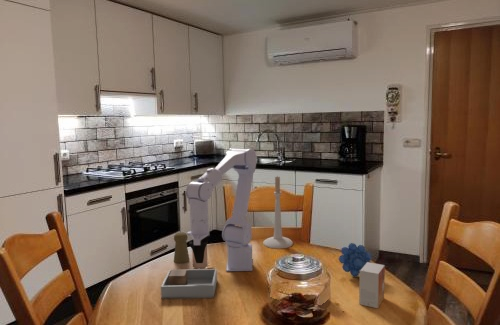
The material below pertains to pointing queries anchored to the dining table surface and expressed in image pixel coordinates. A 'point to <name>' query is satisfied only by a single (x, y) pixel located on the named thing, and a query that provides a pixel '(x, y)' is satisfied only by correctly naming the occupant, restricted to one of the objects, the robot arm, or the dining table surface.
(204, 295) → the tote
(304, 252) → the dining table surface
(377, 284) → the small box
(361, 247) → the blue flower
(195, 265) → the terracotta cylinder
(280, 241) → the candlestick
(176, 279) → the walnut cube
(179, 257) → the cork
